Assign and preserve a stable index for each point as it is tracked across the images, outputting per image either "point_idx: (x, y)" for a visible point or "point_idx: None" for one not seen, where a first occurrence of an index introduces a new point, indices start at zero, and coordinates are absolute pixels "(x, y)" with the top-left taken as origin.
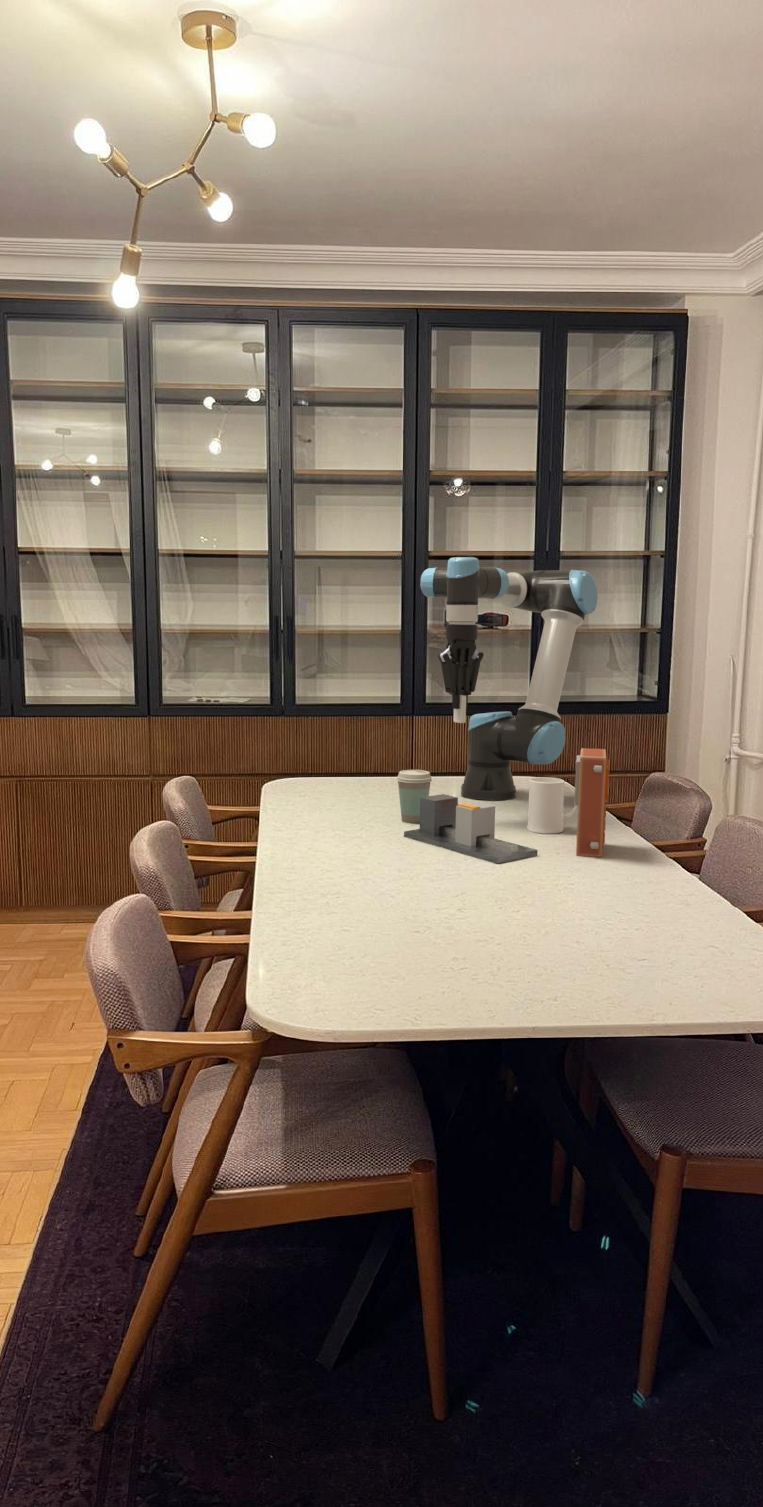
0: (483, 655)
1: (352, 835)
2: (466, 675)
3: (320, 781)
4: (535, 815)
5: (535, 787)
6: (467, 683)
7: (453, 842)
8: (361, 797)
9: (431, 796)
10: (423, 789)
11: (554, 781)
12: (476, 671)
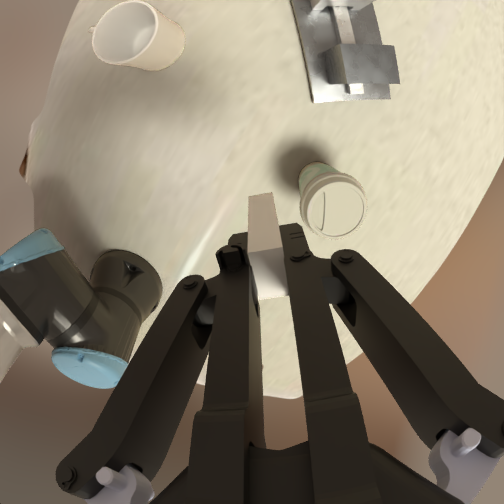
0: (58, 466)
1: (433, 144)
2: (244, 346)
3: (282, 387)
4: (175, 28)
5: (160, 18)
6: (234, 303)
7: (362, 10)
8: (291, 325)
9: (378, 78)
10: (329, 171)
11: (100, 50)
12: (140, 374)
